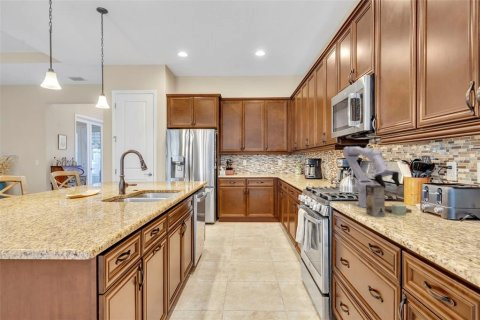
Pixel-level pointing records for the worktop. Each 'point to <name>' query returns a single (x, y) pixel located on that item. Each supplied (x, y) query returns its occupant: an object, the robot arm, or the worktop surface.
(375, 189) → the coffee box
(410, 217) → the worktop surface
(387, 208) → the walnut board
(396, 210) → the sage block
